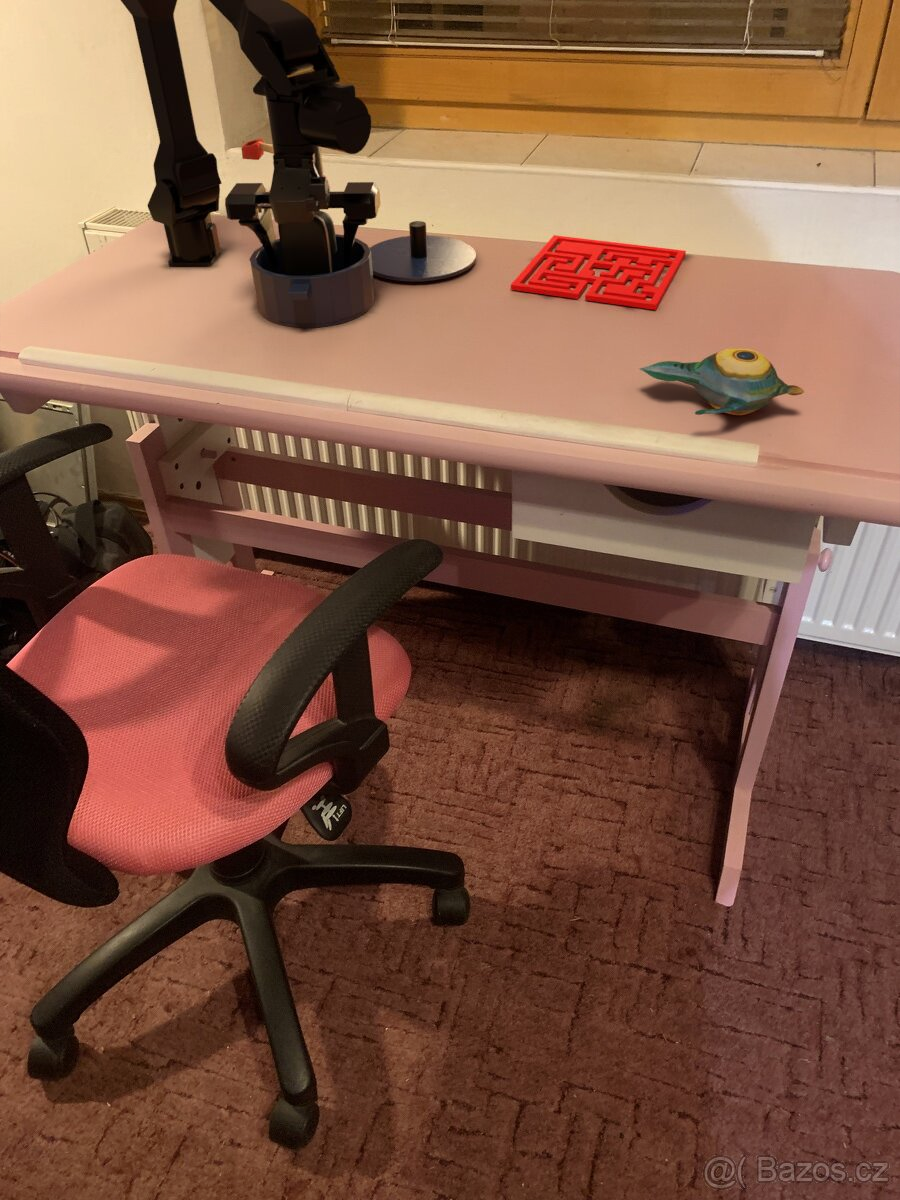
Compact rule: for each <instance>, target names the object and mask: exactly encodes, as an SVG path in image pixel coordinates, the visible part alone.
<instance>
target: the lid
mask: <svg viewBox="0 0 900 1200" xmlns="http://www.w3.org/2000/svg"><path fill="white" fill-rule="evenodd" d="M408 228H409V235H406V236H399V237H394V238H390V239H385V240H383V241H380V242H378V243H376V244H373V245H371V246H370V247H369V248H370V250H371V257H372V270H373V276H374V275H375V276H377V277H380V278H384V279H387V280H392V281H397V282H398V281H399V282H430V281H431V282H432V281H437V280H443V279H448V278H452V277H454V276H455V277H456V276H457V275H460V274H462V273H464V272H466V271H468V270H470V268H472V267H473V266H474V265H475V263H476V261H477V253H476V250H475V249H474V248H473V247H472V245H470V244H468V243H467V242H464V241H463V240H460V239H457V238H452V237H447V236H441V235H429V234H428V235H427V223H426V222H425V221H422V220H415V221H411V222H409V224H408Z"/></svg>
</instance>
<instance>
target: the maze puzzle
mask: <svg viewBox="0 0 900 1200" xmlns="http://www.w3.org/2000/svg"><path fill="white" fill-rule="evenodd" d="M558 243H559V244H558ZM557 244H558V245H557ZM556 246H557V247H556ZM555 247H556V248H555ZM554 248H555V249H554ZM553 249H554V251H552V250H553ZM686 252H687V250H684V249H673V248H666V247H657V246H650V245H649V246H648V245H641V244H634V243H633V244H632V243H623V242H617V241H616V242H615V241H607V240H597V239H591V238H590V239H589V238H581V237H575V236H574V237H573V236H572V237H571V236H566V235H565V236H564V235H555V234H554V235H553V236H552V237H550V239H549V240H548V241H547V242H546V244H545V245H544V246H543V247H542V248H541V249H540V251H538V252H537V254H536V255H535V256H534V257H533V259H531V261H530V262H529V263H528V264H527V265H526V266H525V268H524V269H523V270H522V271H521V273H519V275H518V276H517V277H516V278H515V279H514V280H513V281H512V283H510V291H519V292H526V293H533V294H541V295H547V296H554V297H562V298H568V299H576V300H578V299H579V298H580V297H581V295H583V292H584V291H585V290H586V288H587V287H588V284H592V285H591V286H590V287H589V288H588V290H587V291H586V293H585V294H584V301H589V302H590V301H591V302H596V303H597V302H598V303H604V304H611V305H619V306H625V307H634V308H639V309H646V310H647V309H648V310H653V311H654V310H655V311H656V310H657V308H658V306H659V305H660V303H661V301H662V299H663V297H664V296H665V293H666V292H667V290H668V289H669V287H670V284H671V282H672V281H673V279H674V277H675V275H676V273H677V272H678V269H679V268H680V266H681V264H682V262H683V260H684V258H685V257H686V255H687V254H686ZM604 254H605V256H604V257H603V260H600V259H601V258H602V256H603V255H604ZM670 257H674V258H670ZM544 259H546V260H545V261H544ZM585 259H587V261H586V263H585V264H584V265H583V267H582V268H581V269H580V271H578V270H579V268H580V267H581V265H582V264H583V263H584V262H585ZM613 260H615V261H613ZM542 262H543V263H542ZM569 262H572V263H571V264H569ZM632 262H634V263H636V264H632ZM541 263H542V265H541ZM540 265H541V266H540ZM553 265H555V266H554V267H553ZM653 265H655V267H654V266H653ZM539 266H540V267H539ZM538 267H539V268H538ZM552 267H553V270H552V269H551V268H552ZM665 267H668V269H667V271H666V273H665V275H664V276H663V278H662V280H661V281H660V283H659V285H658V286H655V285H656V283H657V281H658V280H659V278H660V276H661V275H662V272H663V271H664V269H665ZM537 268H538V269H537ZM593 268H596V269H597V268H598V269H607V270H609V271H600V273H599V275H598V276H597V275H596V270H594V269H593ZM536 269H537V270H536ZM535 270H536V271H535ZM534 271H535V273H534V274H533V272H534ZM577 271H578V273H576V272H577ZM620 271H621V272H622V273H621V274H620V276H619V277H618V278H616V277H617V275H618V274H619V272H620ZM532 274H533V275H532ZM531 275H532V276H531ZM646 275H649V277H648V278H647V279H644V278H645V276H646ZM529 278H530V279H529ZM543 278H545V280H543ZM527 279H529V280H528V281H527ZM526 281H527V283H525V282H526ZM628 281H631V282H630V284H629V285H626V283H627V282H628ZM603 286H605V288H604V289H603V291H602V293H599V291H600V290H601V288H602V287H603ZM571 287H574V289H571ZM639 287H640V288H642V289H641V290H640V293H639V292H637V290H638V289H639ZM647 297H650V298H651V300H647Z"/></svg>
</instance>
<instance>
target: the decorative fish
mask: <svg viewBox="0 0 900 1200" xmlns="http://www.w3.org/2000/svg"><path fill="white" fill-rule="evenodd" d="M638 370H640V371H642V372H644V373H645V374H647V375H648V376H650V377H651V378H653V379H655V380H659V381H664V382H680V383H683V384H686V385H689V386H691V387H693V388H694V389H695V390H696V392H697V393H698V394H699V396H701V398H702V399H703V400H704V401H706V402H707V403H708V404H709V405H710V406H711V407H712V408H711V409H710V408H709V409H705V408H704V409H703V408H702V409H698V410H696V411H695V412H694V414H695V415H696V416H700V415H705V414H706V415H710V414H711V415H712V414H715V415H716V414H721V413H722V414H723V413H725V414H727V415H732V416H745V415H748V414H751V413H753V412H756V411H758V410H760V409H762V408H764V407H765V406H767V405H768V404H769V403H770V402H771V401H772V400H773V399H774V398H776V397H779V396H782V395H790V396H799V395H803V394H804V393H805V391H804V389H803V388H801V387H799V386H798V385H793V384H792V385H791V384H790V385H788V384H787V383H786V382H784V381H783V380H782V379H781V378H780V377H779V376H778V372H777V370H776V368H775V367H774V365H773V363H772V362H771V361H770V360H769V359H768V358H767V357H766V356H765V355H764V354H762V353H761V352H759V351H757V350H755V349H748V348H732V347H731V348H726V349H722V350H720V351H718V352H715V353H712V354H711V355H708V356H706V357H705V358H703V359H702V360H701V361H693V362H682V361H675V360H674V361H673V360H665V361H663V360H662V361H660V362H655V363H653V364H650V365H647V366H644V367H640V368H638Z"/></svg>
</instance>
